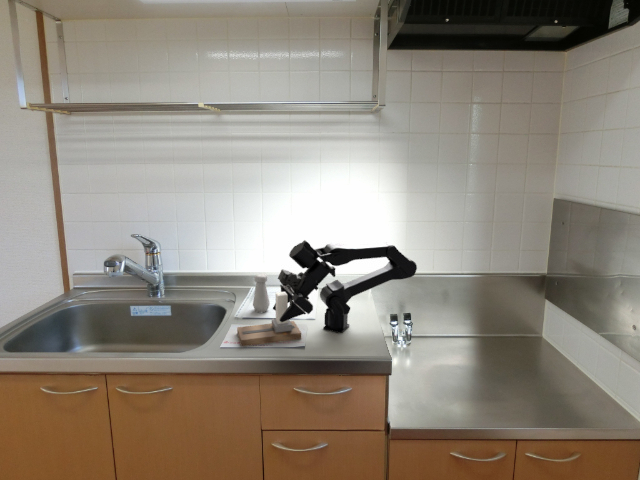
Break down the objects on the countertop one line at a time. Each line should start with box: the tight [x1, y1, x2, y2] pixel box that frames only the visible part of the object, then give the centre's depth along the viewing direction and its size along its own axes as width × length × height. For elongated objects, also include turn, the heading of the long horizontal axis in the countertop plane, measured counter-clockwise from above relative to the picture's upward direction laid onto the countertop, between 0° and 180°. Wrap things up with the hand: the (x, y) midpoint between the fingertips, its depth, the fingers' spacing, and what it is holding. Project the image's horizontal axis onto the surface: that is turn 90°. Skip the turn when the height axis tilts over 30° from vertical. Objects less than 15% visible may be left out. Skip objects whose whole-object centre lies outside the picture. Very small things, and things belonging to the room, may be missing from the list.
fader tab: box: [271, 291, 292, 333], centre depth 134 cm, size 5×6×11 cm
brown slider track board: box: [236, 320, 302, 347], centre depth 135 cm, size 18×9×2 cm, turn 108°
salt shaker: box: [252, 273, 271, 313], centre depth 153 cm, size 6×6×13 cm
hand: (277, 315), depth 134 cm, fingers open, 9 cm apart
